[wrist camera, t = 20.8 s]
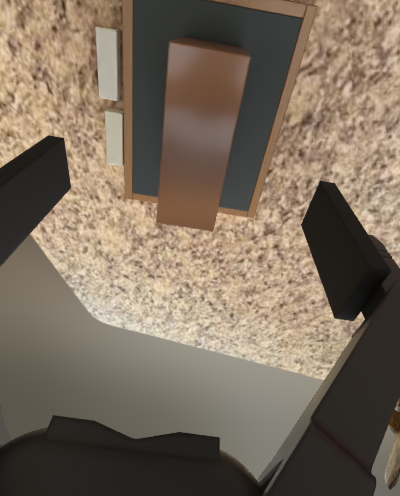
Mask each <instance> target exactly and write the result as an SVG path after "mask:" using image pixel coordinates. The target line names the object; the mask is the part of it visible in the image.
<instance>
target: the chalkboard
mask: <svg viewBox="0 0 400 496" xmlns="http://www.w3.org/2000/svg"><path fill="white" fill-rule="evenodd" d="M317 8H318V7H317V6H314V5H309V4H308V5H307V4H304V3H298V2H293V1H288V0H122V27H123V97H124V168H125V198H126V199H133V200H140V201H146V202H152V203H158V191H159V177H160V162H161V148H162V133H163V119H164V104H165V90H166V75H167V61H168V47H169V41H172V40H174V39H177V38H180V37H183V36H189V37H195V38H200V39H205V40H211V41H216V42H221V43H227V44H232V45H237V46H242V47H243V48H244V49H245V50H246V51H247V53H248V54H249V55H250V56H251V59H250V64H249V68H248V73H247V77H246V82H245V87H244V91H243V96H242V101H241V105H240V110H239V114H238V119H237V124H236V128H235V133H234V138H233V142H232V147H231V151H230V156H229V161H228V165H227V170H226V175H225V179H224V184H223V188H222V193H221V198H220V202H219V207H218V212H217V213H222V214H228V215H234V216H241V217H247V218H254V215H255V212H256V209H257V205H258V202H259V199H260V196H261V192H262V189H263V186H264V182H265V179H266V176H267V172H268V169H269V166H270V163H271V159H272V156H273V153H274V149H275V146H276V143H277V140H278V136H279V133H280V130H281V126H282V123H283V120H284V117H285V113H286V110H287V107H288V103H289V100H290V97H291V93H292V90H293V87H294V84H295V80H296V77H297V74H298V70H299V67H300V64H301V61H302V57H303V54H304V51H305V47H306V44H307V41H308V38H309V34H310V31H311V28H312V24H313V21H314V18H315V15H316V11H317Z"/></svg>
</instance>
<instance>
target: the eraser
mask: <svg viewBox="0 0 400 496" xmlns="http://www.w3.org/2000/svg"><path fill="white" fill-rule="evenodd" d="M250 59H251V56H250V55H249V54H248V53H247V51H246V50H245V49H244V48H243V47H242V46H237V45H232V44H227V43H221V42H216V41H211V40H205V39H200V38H195V37H189V36H183V37H180V38H177V39H174V40H172V41H169V47H168V61H167V75H166V90H165V104H164V119H163V133H162V148H161V162H160V177H159V191H158V206H157V220H156V222H157V223H161V224H167V225H173V226H180V227H186V228H192V229H199V230H205V231H211V232H213V230H214V225H215V221H216V216H217V212H218V207H219V202H220V198H221V193H222V188H223V184H224V179H225V175H226V170H227V165H228V161H229V156H230V151H231V147H232V142H233V138H234V133H235V128H236V124H237V119H238V114H239V110H240V105H241V101H242V96H243V91H244V87H245V82H246V77H247V73H248V68H249V64H250Z"/></svg>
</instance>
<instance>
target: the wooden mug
mask: <svg viewBox="0 0 400 496" xmlns="http://www.w3.org/2000/svg"><path fill="white" fill-rule="evenodd" d="M397 403H398V404H397V409H398V411H399V412H398V411H396V410H394V412H393V415H392V417H391V420H390V422H389V425H388V428H389V429H390V430H391V431H392V432H393V433H394V434H395V435H396V436H395V440H394V443H393V446H392V449H391V452H390V456H389V460H388V464H387V468H386V471H385V482H386V485H387V486H388V487H389V489H390V490H391V489H392V488H393V487H394V486H395V485H396V483H397V481H398V478H399V476H400V397H399V399H398V402H397Z"/></svg>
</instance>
